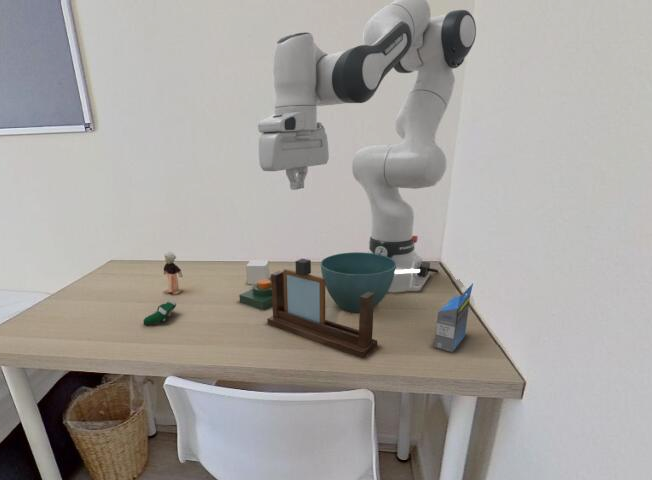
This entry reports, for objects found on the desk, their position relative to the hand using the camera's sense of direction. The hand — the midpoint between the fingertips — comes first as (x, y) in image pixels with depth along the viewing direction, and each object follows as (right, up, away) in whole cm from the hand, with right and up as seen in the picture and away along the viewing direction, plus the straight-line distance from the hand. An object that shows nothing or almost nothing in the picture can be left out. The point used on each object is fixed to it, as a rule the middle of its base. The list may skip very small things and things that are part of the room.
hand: (297, 188), depth 88 cm
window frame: (+5, -33, +1) cm, 33 cm away
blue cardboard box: (+32, -34, -5) cm, 47 cm away
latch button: (-8, -22, +20) cm, 31 cm away
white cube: (-10, -20, +36) cm, 42 cm away
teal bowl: (+16, -28, +14) cm, 35 cm away
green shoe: (-34, -30, +13) cm, 47 cm away
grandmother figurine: (-35, -24, +30) cm, 52 cm away
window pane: (+2, -30, +3) cm, 30 cm away
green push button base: (-8, -26, +21) cm, 34 cm away
